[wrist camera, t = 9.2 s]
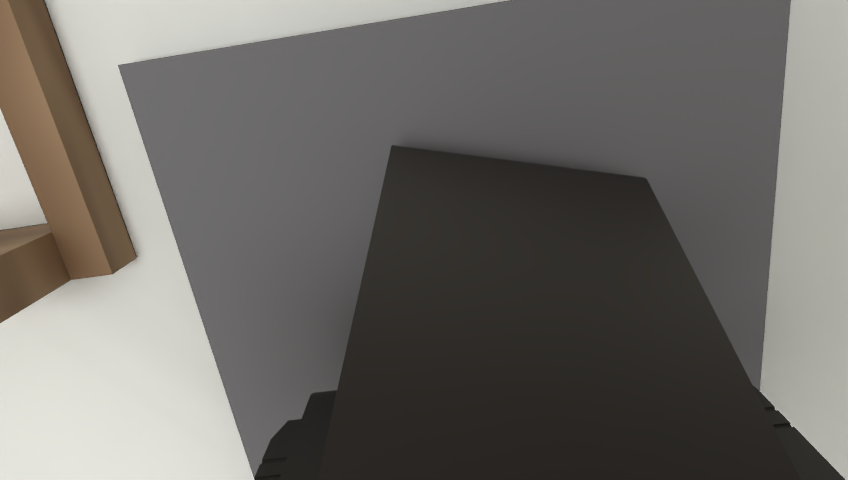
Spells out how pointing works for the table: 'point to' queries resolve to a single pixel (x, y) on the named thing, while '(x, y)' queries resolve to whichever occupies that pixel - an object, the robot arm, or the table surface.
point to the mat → (456, 133)
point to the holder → (52, 168)
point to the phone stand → (536, 337)
